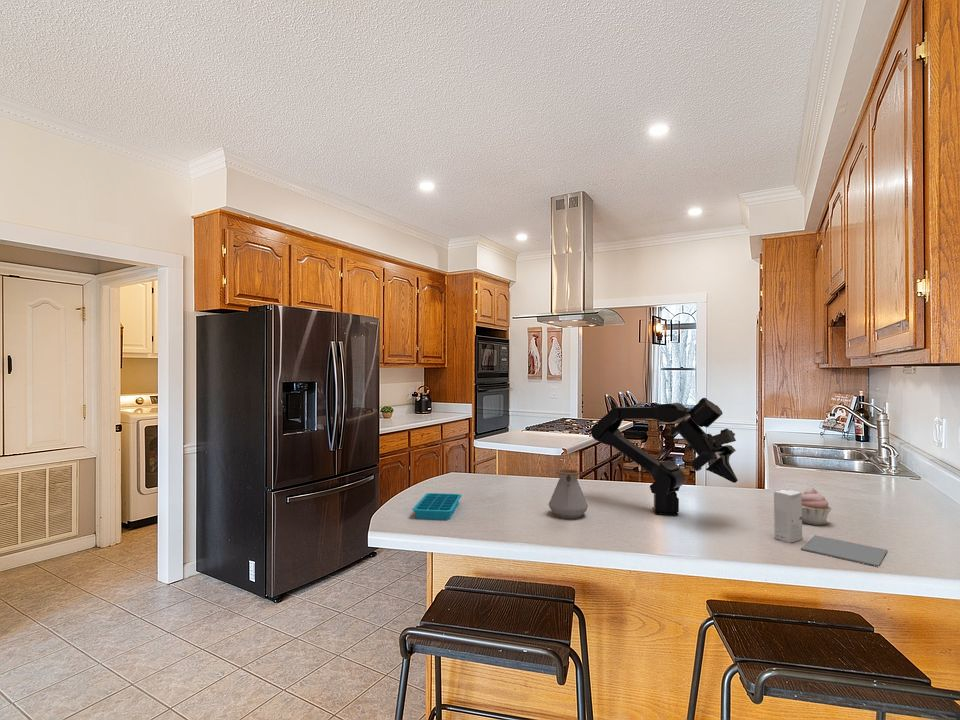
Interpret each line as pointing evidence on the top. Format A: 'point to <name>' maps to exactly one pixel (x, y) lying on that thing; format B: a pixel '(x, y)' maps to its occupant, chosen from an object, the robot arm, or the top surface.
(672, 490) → the robot arm
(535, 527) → the top surface
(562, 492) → the coffee pot
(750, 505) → the top surface
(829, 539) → the mat
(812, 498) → the cupcake
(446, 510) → the ice cube tray
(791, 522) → the skincare box
